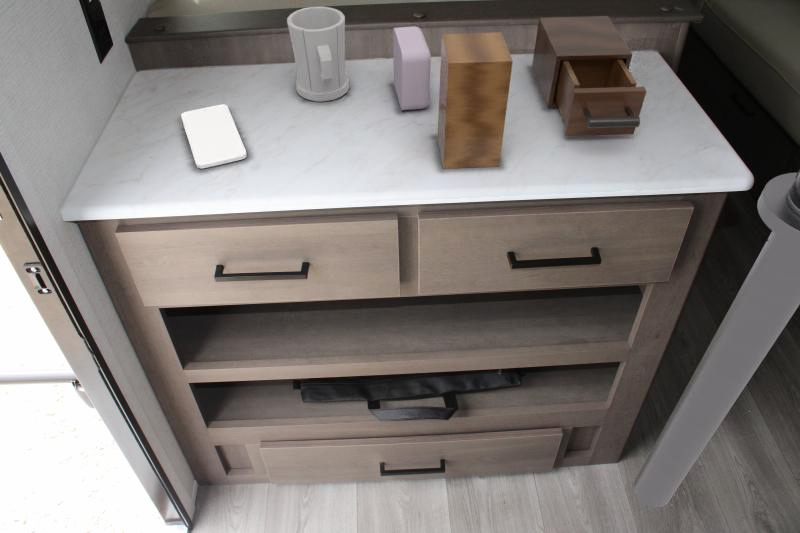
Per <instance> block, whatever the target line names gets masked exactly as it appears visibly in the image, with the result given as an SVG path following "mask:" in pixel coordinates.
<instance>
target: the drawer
mask: <svg viewBox="0 0 800 533" xmlns="http://www.w3.org/2000/svg"><path fill="white" fill-rule="evenodd" d="M637 84H638V82H636V79H635V78H634V76H633V74H632V73H631V71H630V70H629V69H628V68H627V67H626V65H625V63H624V62H623V60H622V59H585V60H561V61H560V67H559V72H558V78H557V83H556V88H555V94H554V98H555V100H556V103H557V105H558V108H557V109H558V110H559V112H560V116H561V117H562V120H563V122H564V128H563V134H564V137H594V136H595V137H598V136H631V135H635V131H636V128H637V127H638V128H639V126H640V124H641V117H640V114H641V111H642V108H643V104H644V102H645V97H646V94H647V89H646V87H645V86H637Z"/></svg>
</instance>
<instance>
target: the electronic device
mask: <svg viewBox="0 0 800 533" xmlns="http://www.w3.org/2000/svg"><path fill="white" fill-rule="evenodd" d="M392 40H393V41H392V42H393V43H392V47H393V48H392V54H393V55H392V56H393V57H392V58H393V61H392V62H393V84H394V85H393V86H394V89H395V92H396V96H397V99H398V102H399V106H400V111H413V110H423V109H426V108H427V107H428V106H429V104H430V100H431V98H430V96H431V69H432V68H431V65H432V55H431V51H430V49H429V46H428V43H427V41H426V38H425V35H424V33H423V31H422V29H421V28H420V27H418V26H416V25H415V26H402V27H393V29H392Z"/></svg>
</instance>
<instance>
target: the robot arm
mask: <svg viewBox="0 0 800 533" xmlns="http://www.w3.org/2000/svg"><path fill="white" fill-rule="evenodd" d="M796 173H797V175H796V177H795V178H796V180H795V181H794V183H793V185H792V187H791V188H790V190H789V191H788V193H787V202H788V204H789V205H790V207H791V208H792V209H793V210H794V211H795V212H796V213H797V214H798V215H800V168H799V169H798V171H797V172H796Z"/></svg>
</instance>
